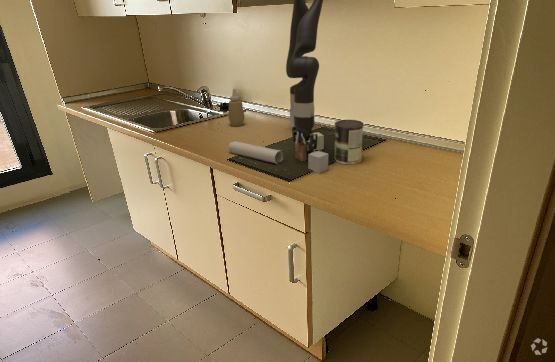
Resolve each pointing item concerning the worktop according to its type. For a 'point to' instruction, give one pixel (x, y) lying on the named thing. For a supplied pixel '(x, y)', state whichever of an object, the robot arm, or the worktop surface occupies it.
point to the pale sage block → (319, 141)
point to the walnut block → (301, 151)
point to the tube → (256, 152)
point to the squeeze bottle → (236, 110)
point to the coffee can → (348, 141)
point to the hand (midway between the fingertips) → (304, 156)
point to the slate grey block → (318, 161)
